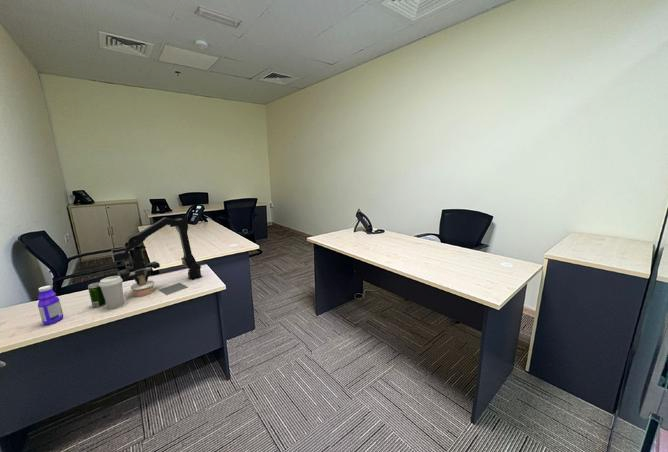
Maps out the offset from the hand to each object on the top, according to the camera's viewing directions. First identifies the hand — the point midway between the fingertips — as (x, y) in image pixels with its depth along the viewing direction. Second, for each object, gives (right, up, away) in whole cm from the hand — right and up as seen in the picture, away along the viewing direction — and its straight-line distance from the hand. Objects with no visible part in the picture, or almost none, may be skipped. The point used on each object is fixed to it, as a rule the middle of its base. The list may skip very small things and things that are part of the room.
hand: (142, 283), depth 150 cm
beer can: (-14, -9, -11) cm, 21 cm away
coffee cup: (-5, -9, -12) cm, 16 cm away
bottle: (-24, -13, -25) cm, 37 cm away
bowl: (0, -6, +1) cm, 6 cm away
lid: (0, -2, 0) cm, 2 cm away
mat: (+14, -5, +5) cm, 16 cm away
